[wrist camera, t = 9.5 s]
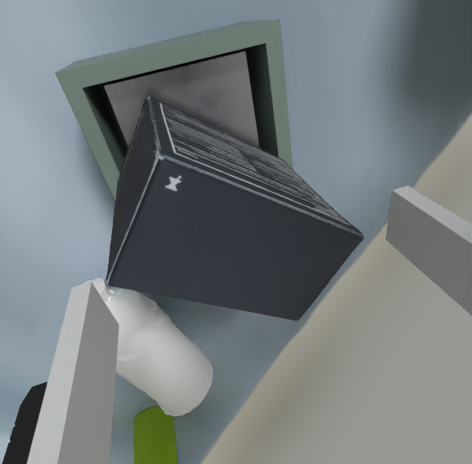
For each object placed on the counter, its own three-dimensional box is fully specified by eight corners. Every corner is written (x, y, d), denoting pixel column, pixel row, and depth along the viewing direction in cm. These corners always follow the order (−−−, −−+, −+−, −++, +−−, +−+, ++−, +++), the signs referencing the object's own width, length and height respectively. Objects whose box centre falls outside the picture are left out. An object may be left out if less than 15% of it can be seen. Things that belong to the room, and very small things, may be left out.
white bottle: (126, 246, 32) (124, 301, 25) (207, 342, 43) (219, 397, 36) (57, 282, 32) (37, 345, 26) (155, 369, 43) (159, 428, 36)
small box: (112, 186, 21) (95, 293, 13) (146, 91, 19) (154, 143, 10) (245, 230, 26) (299, 329, 17) (286, 158, 23) (372, 233, 15)
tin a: (226, 47, 24) (245, 51, 20) (241, 130, 28) (259, 147, 24) (109, 75, 23) (103, 85, 19) (140, 157, 27) (141, 180, 23)
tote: (246, 21, 24) (279, 19, 18) (270, 200, 33) (298, 235, 28) (75, 61, 23) (55, 72, 17) (150, 236, 32) (153, 282, 26)
